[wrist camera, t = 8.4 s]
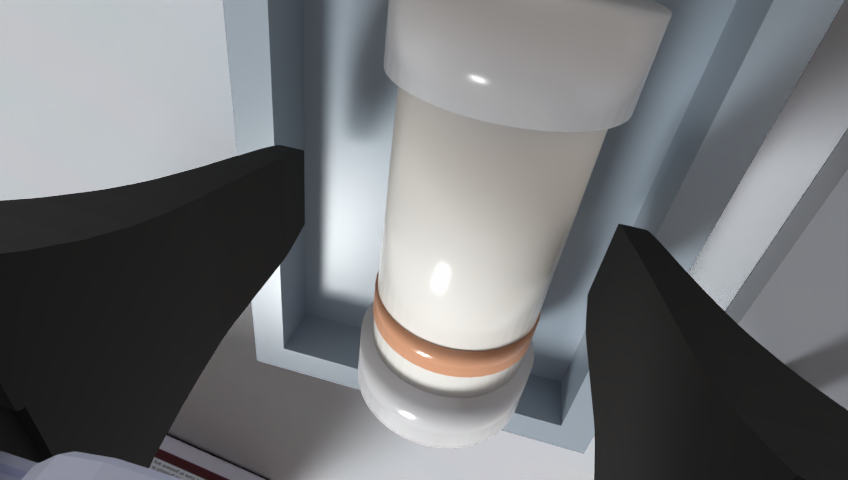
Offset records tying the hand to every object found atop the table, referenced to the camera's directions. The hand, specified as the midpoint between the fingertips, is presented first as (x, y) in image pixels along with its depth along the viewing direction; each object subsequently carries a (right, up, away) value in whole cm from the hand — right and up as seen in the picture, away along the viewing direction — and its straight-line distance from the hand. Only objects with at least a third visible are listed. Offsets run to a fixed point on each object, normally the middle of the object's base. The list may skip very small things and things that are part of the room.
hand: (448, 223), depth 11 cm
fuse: (+1, +1, +2) cm, 2 cm away
